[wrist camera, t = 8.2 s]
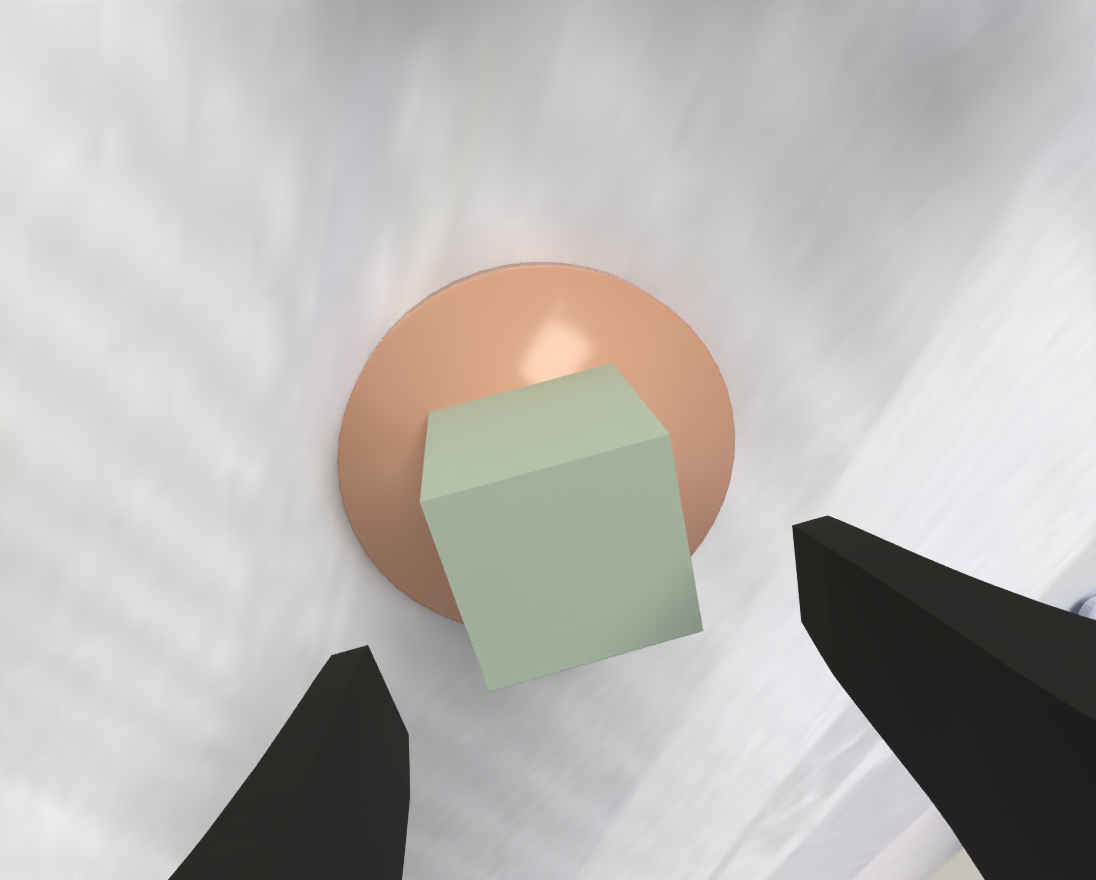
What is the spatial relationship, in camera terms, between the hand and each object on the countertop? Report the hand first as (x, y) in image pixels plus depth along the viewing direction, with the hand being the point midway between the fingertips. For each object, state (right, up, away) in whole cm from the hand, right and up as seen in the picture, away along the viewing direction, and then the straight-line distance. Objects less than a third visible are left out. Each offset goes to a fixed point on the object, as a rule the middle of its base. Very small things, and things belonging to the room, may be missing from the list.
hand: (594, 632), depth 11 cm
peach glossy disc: (-1, +3, +7) cm, 7 cm away
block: (-1, +2, +6) cm, 6 cm away
